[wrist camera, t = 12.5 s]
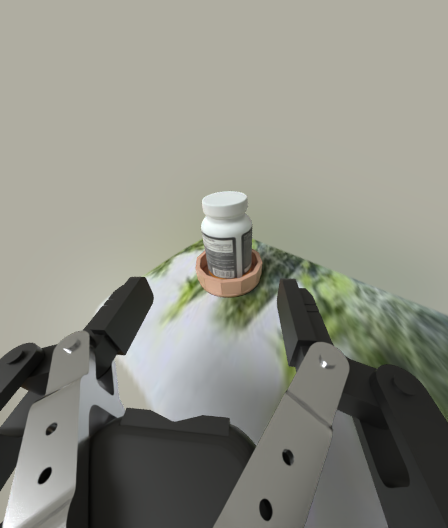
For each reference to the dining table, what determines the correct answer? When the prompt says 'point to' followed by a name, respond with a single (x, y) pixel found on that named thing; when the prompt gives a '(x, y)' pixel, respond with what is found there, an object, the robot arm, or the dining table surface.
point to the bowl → (229, 285)
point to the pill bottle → (227, 235)
